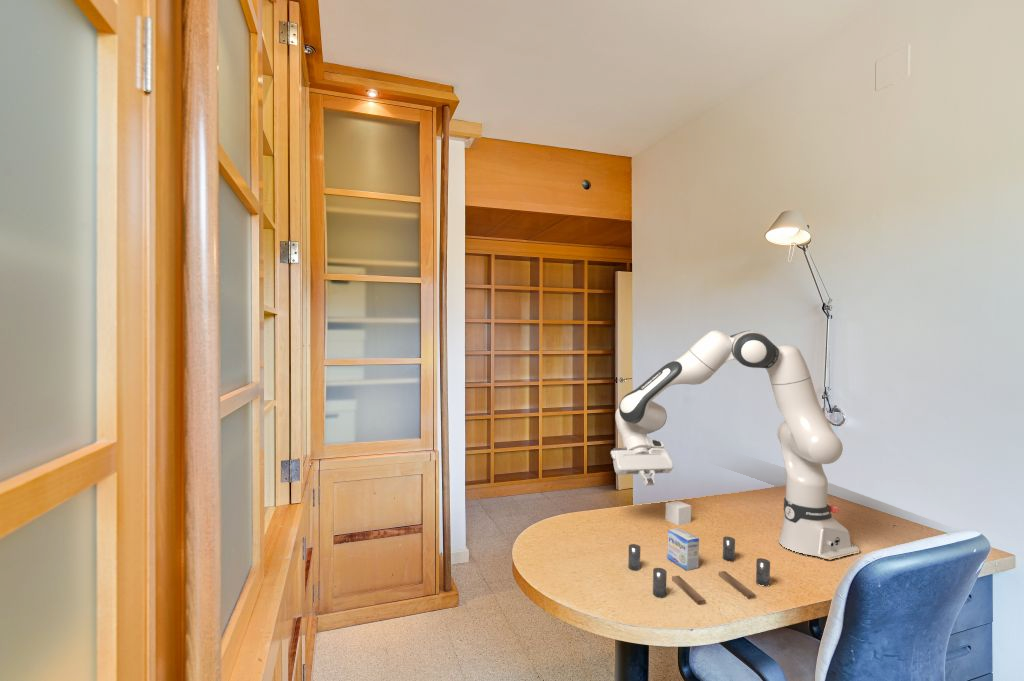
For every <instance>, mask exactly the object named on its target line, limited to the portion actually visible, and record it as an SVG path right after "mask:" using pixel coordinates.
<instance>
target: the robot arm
mask: <svg viewBox="0 0 1024 681" xmlns="http://www.w3.org/2000/svg"><path fill="white" fill-rule="evenodd" d="M733 360H735V361H737V362H738V363H739V364H741V365H742V366H745V367H747V368H752V369H755V368H756V369H765V371H766V372H767V374H768V377H769V382H770V384H771V389H772V391H773V395H774V400H775V402H776V405H777V408H778V411H780V413H781V414H782V416H783V419H784V421H783V422H781V423H780V424H779V425H778V428H777V434H776V435H777V438H778V440H779V443H780V445H781V446H780V447H781V452H782V457H783V463H784V469H785V497H784V498H783V512H784V514H783V521H782V526H781V531H780V534H779V538H778V540H779V541H778V544H779V543H780V544H781V545H782V546H781V545H780V544H779V545H780V546H781V547H783V548H784V547H785V548H784V549H786V548H787V550H788V549H790V550H792V551H791V552H793V551H795V552H794V553H796V552H799V553H803V554H809V555H815V556H820V557H824V558H834V557H838V556H842V555H846V554H850V553H854V552H858V551H860V552H861V549H859V546H857V545H855V544H854V543H851V536H850V532H849V530H848V529H847V527H845V526H844V525H843V524H841V523H840V522H839V521H837V520H836V519H835V518H834V517H833V515H832V513H833V514H838V513H839V512H840V508H839V507H838V506H835V505H829V504H828V478H827V476H826V473H825V472H824V468H823V465H830V464H833V463H835V462H837V461H838V460H839V459H840V457H841V455H842V454H843V449H844V448H843V446H844V445H843V443H842V441H841V439H840V438H839V437H838V435H837V434H836V433H835V432H834V429H833V428H832V426H831V424H830V422H829V420H828V418H827V416H826V414H825V412H824V411H823V409H822V407H821V404H820V403H819V400H818V397H817V394H816V390H815V387H814V384H813V379H812V377H811V374H810V370H809V368H808V367H809V366H808V364H807V362H806V361H805V358H804V356H803V354H802V352H801V351H800V349H799V348H798V347H796V346H795V345H792V344H781V345H775V344H774V343H773V342H772V341H771V340H770V339H769V338H768V337H767V336H765V334H763V333H762V332H759V331H755V330H744V331H740V332H738V333H735V334H732V335H728V334H727V333H725V332H724V331H720V330H716V329H714V330H711V331H709V332H707V333H706V334H704V335H703V336H701V338H699V339H698V340H697V341H696V342H695V343H694V344H693V345H692V346H691V347H690V348H688V350H687V351H685V352H684V353H683V355H681V356H680V357H678V358H677V359H675V360H673V361H670V362H668V363H667V364H665V365H663V366H662V367H661V368H660V369H658V370H657V371H655V373H653V375H651V376H650V377H649V378H647V379H646V380H645V381H644V382H643V383H642V384H640V385H639V386H638V387H637V388H635V389H633V390H632V391H629V392H628V393H627V394H625V395H624V396H622V397H621V398H622V399H621V400H620V402H619V405H618V408H617V409H616V411H615V414H614V417H615V418H614V419H615V420H614V421H615V423H616V428H617V431H618V434H619V435H620V438H621V443H622V446H623V447H613V449H611V450H610V451H609V452H610V456H611V457H610V458H612V460H613V461H612V463H613V468H614V472H615V473H616V474H617V475H618V476H620V475H621V476H623V475H637V476H638V478H639V479H640V480H641V481H642V482H643V484H644V486H654V485H655V484H656V482H655V475H656V474H670V473H671V471H672V470H673V469H674V462H673V460H672V458H671V455H670V453H669V452H668V451H667V449H665V448H664V447H665V444H664V443H665V442H663V441H661V440H657V439H653V438H650V437H648V436H647V435H648V434H651V433H654V432H656V431H659V430H660V429H662V428H663V427H664V426H665V424H666V422H667V417H668V416H667V415H668V414H667V410H666V409H665V407H663V405H661V404H659V403H657V402H656V401H655V402H654V399H656V397H657V396H658V397H659V395H660V394H661V393H662V392H664V391H665V390H666V389H668V388H669V387H671V386H675V385H693V386H694V385H695V386H696V385H701V384H703V383H704V382H706V381H708V380H709V379H711V377H712V376H713V375H715V373H717V371H719V369H720V368H721V367H722V366H723V365H724V364H726V363H727V362H729V361H733ZM645 475H647V476H648V477H649V478H647V476H645ZM852 546H853V547H852ZM790 550H789V551H790ZM799 553H798V554H799ZM828 555H830V556H828Z"/></svg>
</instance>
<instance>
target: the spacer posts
mask: <svg viewBox="0 0 1024 681" xmlns="http://www.w3.org/2000/svg"><path fill="white" fill-rule="evenodd" d="M735 554H736V539H735V538H734V537H732V536H723V537H722V559H723V561H725V560H726V561H725V562H729V561H730V562H732V561H733V562H735V561H736V556H735ZM627 558H628V560H627V562H628V566H627V568H628V569H629V570H630V571H635V572H636V571H640V570H641V546H640V544H639V545H638V544H635V543H631V544H629V545H628V557H627ZM734 560H735V561H734ZM733 562H732V563H733ZM652 570H653V574H652V578H653V579H652V595H653V596H654V597H656V598H659V599H663V598H666V597H667V570H666V569H664V568H663V567H655V568H653V569H652ZM755 572H756V573H755V575H756V576H755V583H756V582H757V583H758V584H760V585H764V586H768V585H771V584H770V583H771V582H770V581H771V575H770V574H771V561H770V560H769V559H766V558H762V557H761V558H760V557H759V558H757V559H756V569H755ZM757 583H756V584H757ZM758 584H757V585H758ZM760 585H759V586H760ZM764 586H763V587H764ZM768 587H769V586H768Z"/></svg>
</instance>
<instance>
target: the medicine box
mask: <svg viewBox="0 0 1024 681" xmlns="http://www.w3.org/2000/svg"><path fill="white" fill-rule="evenodd" d="M667 532H668V533H667V553H666V555H667V556H666V559H667V560H668V561H669V562H671V563H673V564H675V565H677V566H679V567H680V568H681V569H684V570H685V571H686V572H687V571H691V570H695V569H698V568H699V550H700V549H699V548H700V539H699V537H697V536H695V535H693V534H691V533H689V532H687V531H684V530H683V529H681V528H680V527H677V528H672V529H668V531H667Z"/></svg>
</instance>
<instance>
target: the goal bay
mask: <svg viewBox="0 0 1024 681" xmlns="http://www.w3.org/2000/svg"><path fill="white" fill-rule="evenodd" d="M718 576H719V577H720V578H721V579H722V580H724V581H725V582H726V583H728V584H729V585H730V586H731V587H733V588H734V589H735V590H736V591H737V592H738V593H740V592H741V593H742V594H741V593H740V594H741V595H743V596H744V597H745V596H746V597H747V598H746V597H745V598H746V599H748V600H752V599H751V598H755V599H756V596H757V594H756V593H754V592H753V591H752V590H751V589H750V588H748V587H747V586H745V585H744V584H743V583H741V582H740V581H739V580H738V579H736V578H735V577H733V576H732V575H731V574H729V572H727V571H725V570H723V571H722V570H721V571H718ZM671 581H672V582H674V584H676V585H677V586H678V587H679V588H680V590H682V591H683V592H684V593H685V594H686V595H687V596H688V597H689V598H690V599H691V600H692V601H693V602H695V603H696V605H698V606H699V605H706V603H707V600H706V599H705V597H704V596H702V595H701V594H700V593H699V592H698V591H696V589H694V588H693V587H692V586H691V585H690V584H689V583H687V582H686V580H684V579H683V578H682V577H681V576H680V575H673V576H671Z"/></svg>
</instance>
